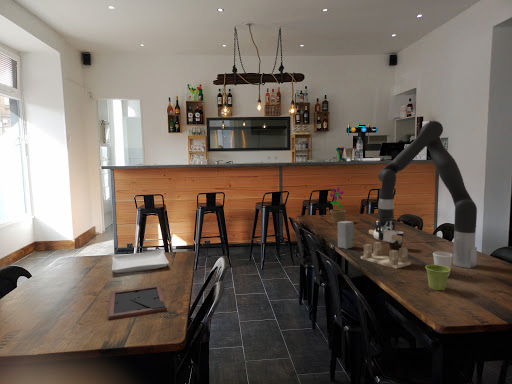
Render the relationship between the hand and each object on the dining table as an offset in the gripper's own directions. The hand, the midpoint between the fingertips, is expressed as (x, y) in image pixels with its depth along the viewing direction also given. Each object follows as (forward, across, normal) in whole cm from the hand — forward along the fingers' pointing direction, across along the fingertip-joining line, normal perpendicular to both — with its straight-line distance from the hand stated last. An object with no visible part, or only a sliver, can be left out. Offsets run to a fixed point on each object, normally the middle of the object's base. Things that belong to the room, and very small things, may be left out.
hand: (385, 239), depth 187 cm
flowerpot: (+13, +63, +95) cm, 115 cm away
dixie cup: (+12, +3, -29) cm, 32 cm away
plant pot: (+12, -15, -38) cm, 42 cm away
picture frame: (+13, -123, +20) cm, 125 cm away
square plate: (+14, -109, +70) cm, 130 cm away
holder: (+12, 0, 0) cm, 12 cm away
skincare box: (+12, +6, +33) cm, 36 cm away
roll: (+1, 0, 0) cm, 1 cm away
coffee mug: (+12, +26, +14) cm, 32 cm away
